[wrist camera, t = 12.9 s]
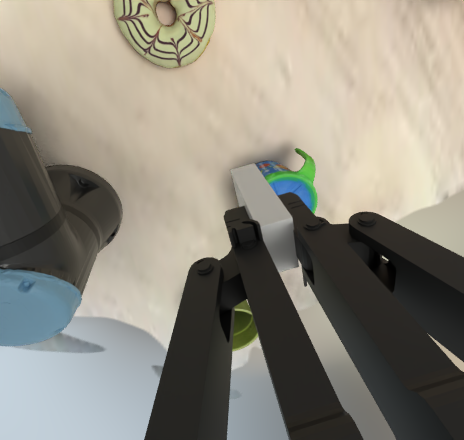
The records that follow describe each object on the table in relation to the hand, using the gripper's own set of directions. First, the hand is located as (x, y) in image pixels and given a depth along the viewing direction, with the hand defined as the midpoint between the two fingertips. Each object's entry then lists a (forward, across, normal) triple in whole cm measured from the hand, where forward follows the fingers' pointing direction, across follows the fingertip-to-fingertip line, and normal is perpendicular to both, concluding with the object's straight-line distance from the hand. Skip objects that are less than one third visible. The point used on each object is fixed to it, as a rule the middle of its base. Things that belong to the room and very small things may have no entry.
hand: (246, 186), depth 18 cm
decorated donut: (+30, +2, -12) cm, 32 cm away
